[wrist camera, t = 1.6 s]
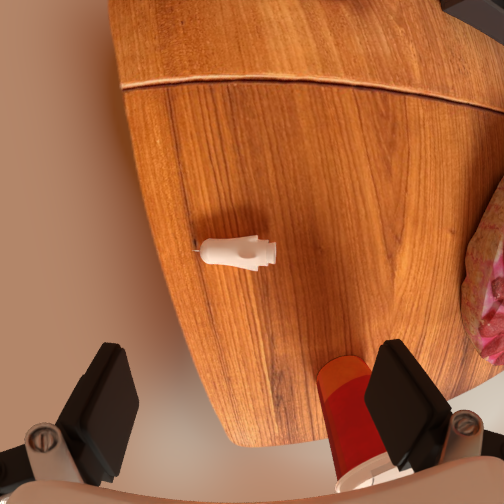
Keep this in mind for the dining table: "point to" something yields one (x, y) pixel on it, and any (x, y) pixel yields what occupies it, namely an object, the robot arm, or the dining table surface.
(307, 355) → the dining table surface
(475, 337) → the cake
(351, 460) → the paper cup
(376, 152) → the dining table surface
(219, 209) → the dining table surface
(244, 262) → the small white plastic part
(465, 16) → the bin
